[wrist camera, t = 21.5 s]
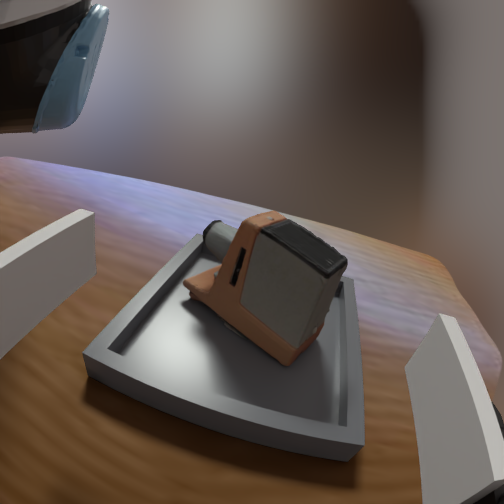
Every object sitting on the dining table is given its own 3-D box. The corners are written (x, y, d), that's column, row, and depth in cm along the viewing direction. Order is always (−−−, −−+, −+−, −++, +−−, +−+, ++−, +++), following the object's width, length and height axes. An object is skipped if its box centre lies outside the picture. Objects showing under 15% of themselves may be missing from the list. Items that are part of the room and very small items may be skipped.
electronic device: (219, 275, 25) (236, 188, 22) (320, 338, 21) (360, 245, 18) (179, 294, 22) (191, 196, 19) (288, 372, 18) (332, 268, 14)
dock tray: (88, 375, 15) (82, 352, 14) (194, 252, 30) (197, 233, 29) (347, 461, 13) (364, 445, 12) (345, 296, 28) (353, 279, 27)
